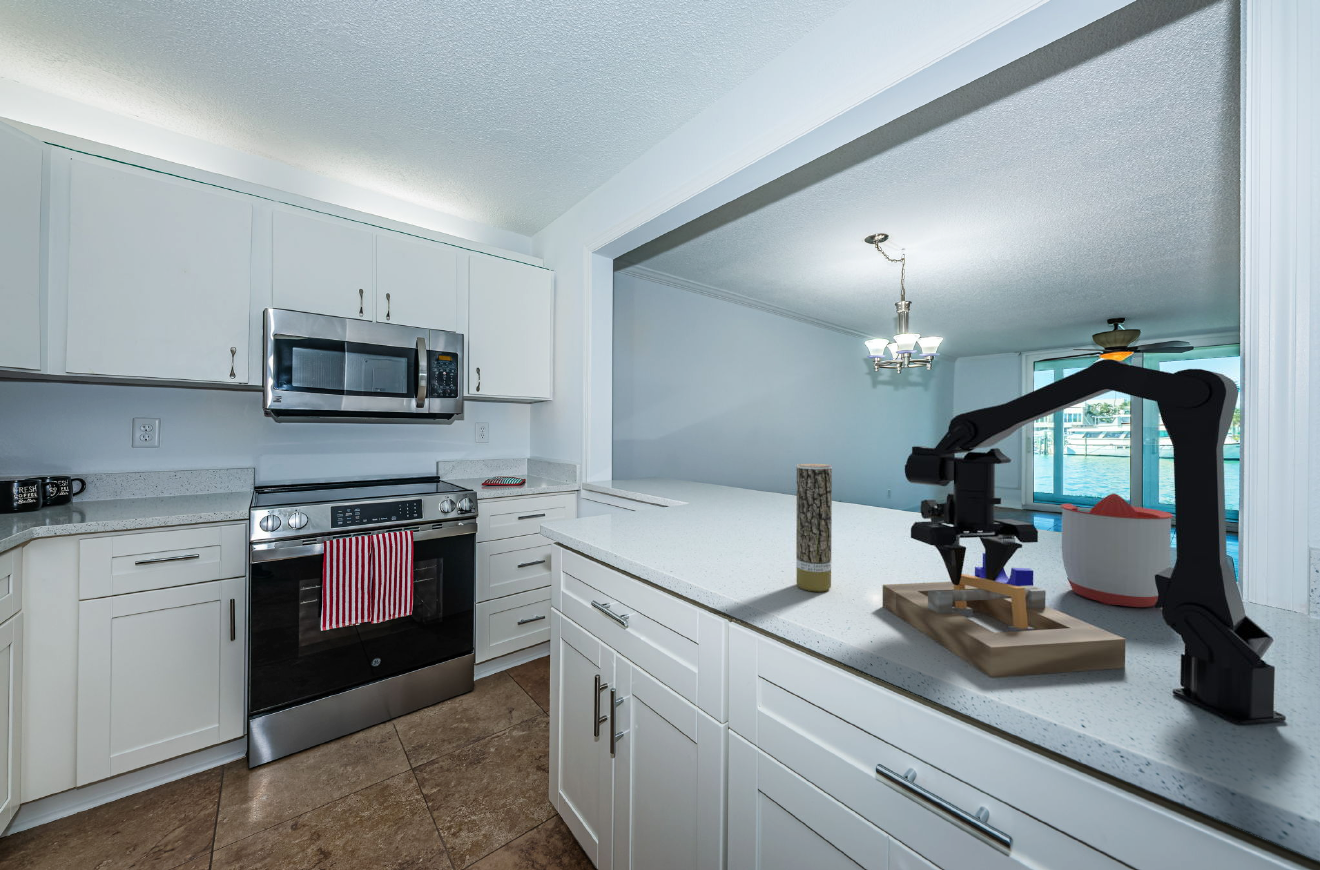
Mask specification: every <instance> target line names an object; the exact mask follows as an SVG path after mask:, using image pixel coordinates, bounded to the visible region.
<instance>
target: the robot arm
mask: <svg viewBox="0 0 1320 870" xmlns="http://www.w3.org/2000/svg"><path fill="white" fill-rule="evenodd" d="M1110 392H1118V393H1122V394H1125V395H1128V396H1132V397H1136V398H1140V399H1144V400H1149V401H1153V402H1156V405H1157V407H1158V411H1159V415H1160V418H1161V422H1162V424H1163V426H1164V428H1165V430H1166V433H1167V435H1168V438H1169V439H1170V441H1171V444H1172V449H1173V476H1174V477H1173V479H1174V508H1175V509H1174V512H1175V513H1174V515H1175V543H1176V560H1175V564H1174V566H1173V567H1171V566H1170V567H1168V568H1166V569H1165V570H1163V571H1161V572H1159V573H1158V574H1156V575H1155V583H1156V587H1157V591H1158V600H1157V602H1156V604H1155V605H1154V609H1161V608H1162V609H1161V613H1162V618H1163V620H1164V622H1165V624H1166V625H1167V626H1168V627H1169V628H1171V629H1172V630H1173V631H1174V632H1175V633H1176V634H1178V635H1180V637H1181V639H1182V641H1183V644H1184V652H1183V653H1181V654H1180V669H1179V670H1180V678H1179V681H1180V683H1179V684H1180V686H1181V687H1180V688H1172V694H1173V695H1175V696H1177V697H1180V698H1181V699H1184V700H1186V701H1187V702H1190V703H1191V704H1194V705H1195V706H1198V707H1200V708H1202V709H1204V710H1206V711H1208V712H1211V713H1213V714H1214V715H1217V716H1219V717H1221V718H1224V719H1226V720H1227V721H1230V722H1232V723H1234V724H1237V725H1250V724H1252V725H1253V724H1262V723H1276V722H1285V721H1286V719H1287V718H1286V717H1287V716H1286V715H1284V714H1282V713H1280V712H1278V711H1276V710H1275V680H1276V679H1275V678H1276V677H1275V675H1276V674H1275V671H1276V667H1275V666H1274V665H1271V664H1269V663H1267V662H1266V661H1264V660H1263V659H1262V658H1263V656H1265V654H1266V653H1267V651H1268V650H1269V648H1270V646H1271V645H1273V642H1274V639H1273V637H1272V636H1271V635H1270V634H1269V633H1267V631H1265V630H1264V629H1263V628H1261V627H1260V626H1259V625H1258V624H1257V623H1256V622H1254V621H1253V620H1252V619H1251V618H1250V617H1249V616H1247V615H1246V610H1245V607H1244V603H1243V599H1242V596H1241V592H1240V588H1239V586H1238V583H1237V580H1236V579H1235V576H1234V575H1233V572H1232V570H1231V568H1230V565H1229V562H1228V558H1227V556H1228V554H1227V527H1226V526H1227V523H1226V520H1227V519H1226V496H1225V495H1226V492H1225V490H1226V488H1225V462H1224V460H1225V458H1224V457H1225V456H1224V446H1225V442H1226V439H1227V436H1228V433H1229V430H1230V427H1231V425H1232V422H1233V419H1234V415H1235V410H1236V406H1237V401H1238V399H1239V388H1238V386H1237V383H1235V381H1234V380H1232V379H1231V378H1229V377H1228V376H1226V374H1225V375H1224V374H1223V373H1218V372H1216V371H1211V370H1206V369H1202V368H1187V369H1183V370H1178V371H1176V372H1173V373H1172V372H1169V371H1165V370H1163V371H1161V370H1158V369H1153V368H1149V367H1144V366H1143V367H1142V366H1136V365H1134V364H1129V363H1127V362H1125V361H1121V360H1117V359H1111V358H1108V359H1107V358H1105V359H1101V360H1097V361H1095V362H1094V363H1092V364H1091V365H1090V366H1088V367H1086V368H1084V369H1081V370H1080V371H1077V372H1075V373H1072V374H1070V375H1068V376H1065V377H1063V378H1060V379H1058V380H1056V381H1053V382H1052V383H1050V384H1047V385H1045V386H1042V387H1040V388H1038V389H1036V390H1033V391H1031V392H1029V393H1026V394H1024V395H1022V396H1019V397H1016V398H1015V399H1012V400H1010V401H1008V402H1005V403H1001V404H999V405H993V406H989V407H983V408H979V409H975V410H971V411H968V412H964V413H960V414H957V415H955V416H954V417H952V419H950V421H949V425H948V427H947V428H948V430H947V432H946V434H944V436H943V437H942V438H941V440H940V441H939V442H938V443H937V444H936V446H935V447H929V446H923V445H922V446H921V445H917V446H915V445H914V446H912V447H911V453H910V454H909V456H908V458H907V460H906V463H905V465H904V474H905V478H906V480H907V481H908V482H910V483H911V484H916V485H917V484H918V485H925V486H934V487H935V486H937V487H946V486H948V485H949V484H950V483H951V482H952V481H953V491H952V492H953V493H952V492H951V493H947V495H946V502H944V503H943V502H942V503H941V502H937V500H936V499H923V500H920V515H921V517H922V519H924V520H927V519H929V520H930V521H914V522H913V524H912V526H911V528H910V538H911V539H913V540H915V541H919V542H921V543H924V544H926V545H930V546H934V547H935V548H936V549H937V551H938V552H939V554H940V556H941V558H942V560H943V562H944V565H945V569H946V571H947V573H948V575H949V578H950V582H952V583H953V584H954V585H959V583H960V579H961V575H962V574H963V568H964V563H965V562H964V561H965V557H966V553H967V552H966V551H967V547H966V546H963V545H961V544H960V543H961V542H960V539H964V538H965V539H969V538H979V539H980V541H981V544H982V545H983V547H984V553H985V575H986V579H988V580H992V581H995V580H996V579H997V577H998V575H999V574H1000V572H1001V571H1002V569H1003V568H1004V569H1005V566H1006V565H1007V564H1008V562H1009V560H1010V559H1011V558H1012V557H1013V555H1014V554H1015V553H1016V551H1017V550H1018V549H1022V548H1023V544H1029V543H1031V544H1032V543H1038V542H1039V539H1038V538H1039V530H1038V529H1037V528H1036V526H1035V525H1034V523H1031V522H1030V523H1029V522H1026V521H1022V520H1021V521H1020V520H1017V519H1012V518H1004V519H1003V518H1001V519H995V507H996V506H995V505H1001V504H1002V498H1001V497H997V496H996V495H995V492H996V491H995V489H996V487H995V485H996V484H995V483H996V465H1001V464H1010V463H1011V461H1012V460H1011V458H1009V457H1008V456H1007V455H1005V454H1004V453H1003V451H1002V450H1001V449H1000V448H998V447H997V448H996V447H995V448H990V447H992V446H995V445H997V444H998V443H999V442H1002V441H1003V440H1004V439H1007V438H1008V437H1009V436H1011V435H1013V434H1014V433H1015V432H1016V431H1018V430H1019V429H1020V428H1022V427H1023V426H1026V425H1027V424H1030V423H1033V422H1036V421H1037V420H1040V419H1043V418H1046V417H1049V416H1051V415H1054V414H1056V413H1058V412H1061V411H1064V410H1066V409H1069V408H1072V407H1073V406H1077V405H1079V404H1081V403H1083V402H1086V401H1089V400H1091V399H1095V398H1096V397H1100V396H1102V395H1104V394H1107V393H1110ZM980 448H981V449H985V448H986V449H987V448H990V449H989V451H987V452H981V451H979V452H978V451H975V450H976V449H980ZM964 453H966V454H965V455H964V457H961V456H960V457H959V456H955V455H956V454H964ZM950 525H951V526H950ZM1016 539H1017V540H1018V541H1019V543H1018V542H1016ZM1022 543H1023V544H1022Z"/></svg>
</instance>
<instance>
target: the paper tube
mask: <svg viewBox="0 0 1320 870" xmlns="http://www.w3.org/2000/svg"><path fill="white" fill-rule="evenodd" d="M832 477H833V468H832V464H826V463H825V464H824V463H799V464H796V537H795V538H796V541H795V543H796V544H795V545H796V547H795V548H796V557H795V560H796V562H795V563H796V574H795V575H796V581H795V582H796V584H797V586H798V588H800V589H801V590H804V591H808V592H815V593H816V592H817V593H818V592H819V593H822V592H826V591H828V590H830V588H831V587H832V533H833V532H832V529H833V528H832V521H833V520H832V515H833V513H832V503H833V502H832V501H833V500H832V499H833V498H832V497H833V496H832V493H833V492H832V489H833V487H832V486H833V483H832V482H833V478H832Z"/></svg>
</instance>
